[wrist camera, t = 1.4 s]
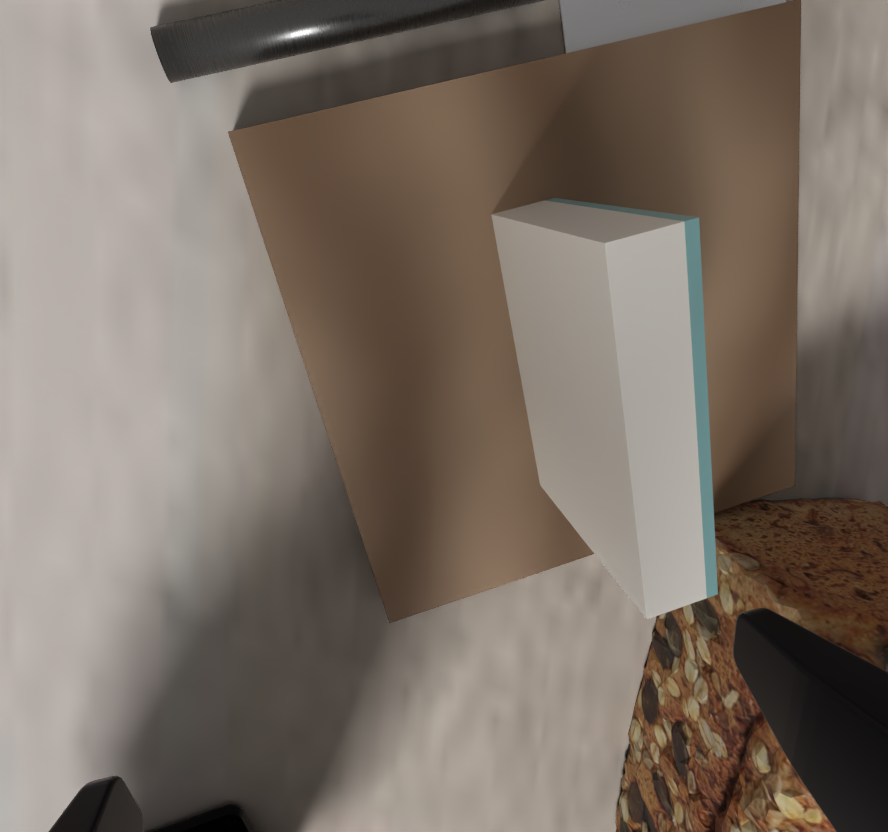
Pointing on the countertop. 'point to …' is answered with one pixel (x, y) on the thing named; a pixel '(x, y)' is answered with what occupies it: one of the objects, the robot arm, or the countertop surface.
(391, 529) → the board
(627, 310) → the tile
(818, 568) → the bread
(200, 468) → the countertop surface
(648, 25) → the turner
